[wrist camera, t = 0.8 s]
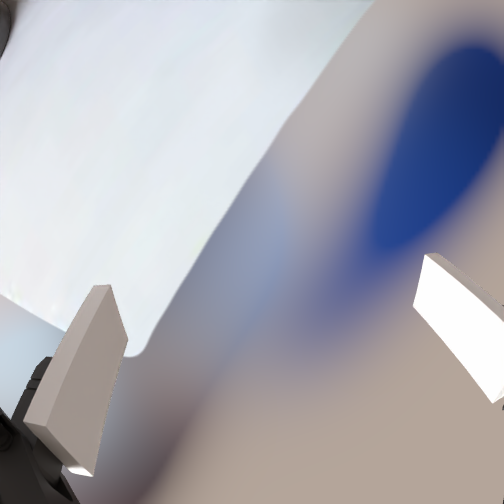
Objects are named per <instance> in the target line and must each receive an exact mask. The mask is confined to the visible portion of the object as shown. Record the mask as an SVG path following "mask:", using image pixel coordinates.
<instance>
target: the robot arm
mask: <svg viewBox="0 0 504 504" xmlns="http://www.w3.org/2000/svg"><path fill="white" fill-rule="evenodd" d="M9 30H10V12H9V9H8V7H7V5H6V4H5V3H3V2H1V1H0V57H1V54H2V52H3V50H4V47H5V44H6V42H7V38H8V34H9ZM413 307H414V308H415V309H416V310H417V311H418V312H419V313H420V315H421V316H422V317H423V318H424V319H425V320H426V321H427V322H428V324H429V325H430V326H431V327H432V328H433V329H434V331H435V332H436V333H437V334H438V335H439V336H440V338H441V339H442V340H443V341H444V342H445V343H446V345H447V346H448V347H449V348H450V349H451V351H452V352H453V353H454V354H455V355H456V357H457V358H458V359H459V361H460V362H461V363H462V364H463V365H464V367H465V368H466V369H467V370H468V372H469V373H470V374H471V376H472V377H473V378H474V380H475V381H476V382H477V383H478V385H479V386H480V387H481V389H482V390H483V391H484V393H485V394H486V395H487V397H488V398H489V399H490V401H491V402H492V403H493V402H495V401H497V400H498V399H500V398H502V397H503V396H504V305H502V304H500V303H499V302H498V301H497V300H496V299H494V298H493V297H492V296H491V295H490V294H489V293H487V292H486V291H485V290H484V289H483V288H481V287H480V286H479V285H478V284H477V283H475V282H474V281H473V280H472V279H470V278H469V277H468V276H467V275H465V274H464V273H463V272H462V271H460V270H459V269H458V268H457V267H455V266H454V265H453V264H451V263H450V262H449V261H447V260H446V259H445V258H444V257H442V256H441V255H440V254H438V253H431V254H425V256H424V261H423V266H422V271H421V275H420V280H419V284H418V289H417V293H416V297H415V301H414V305H413ZM127 342H128V337H127V334H126V332H125V329H124V326H123V323H122V320H121V317H120V314H119V311H118V307H117V304H116V301H115V298H114V294H113V291H112V288H111V285H96V286H93V288H92V289H91V291H90V292H89V294H88V296H87V297H86V299H85V301H84V302H83V304H82V306H81V307H80V309H79V311H78V312H77V314H76V316H75V318H74V319H73V321H72V323H71V325H70V326H69V328H68V330H67V332H66V333H65V336H64V337H63V339H62V341H61V343H60V344H59V346H58V348H57V350H56V352H55V354H54V356H53V357H45V359H44V360H42V361H41V362H40V363H39V365H37V366H36V368H35V370H34V372H33V374H32V376H31V380H29V382H28V384H27V386H26V389H25V390H24V392H23V395H22V396H21V398H20V401H19V403H18V405H17V407H16V409H15V411H14V413H13V416H12V418H11V420H10V419H9V418H8V416H7V415H6V414H5V413H4V411H3V410H2V409H1V408H0V504H80V503H79V501H78V499H77V498H76V496H75V494H74V492H73V491H72V489H71V487H70V485H69V483H68V482H67V480H66V478H65V476H64V475H63V474H62V473H61V469H62V465H65V466H66V467H67V468H68V469H69V470H70V471H71V472H72V473H76V474H81V475H87V476H93V475H94V470H95V464H96V459H97V455H98V450H99V445H100V441H101V436H102V432H103V428H104V424H105V420H106V416H107V412H108V408H109V404H110V400H111V397H112V393H113V389H114V386H115V382H116V379H117V375H118V372H119V368H120V364H121V361H122V358H123V355H124V352H125V348H126V345H127ZM502 410H504V405H503V409H502ZM503 504H504V500H503Z"/></svg>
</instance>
